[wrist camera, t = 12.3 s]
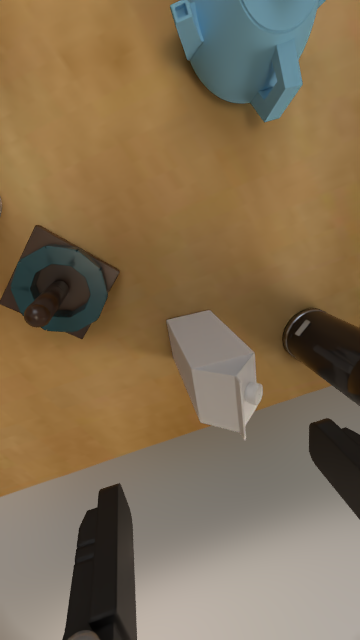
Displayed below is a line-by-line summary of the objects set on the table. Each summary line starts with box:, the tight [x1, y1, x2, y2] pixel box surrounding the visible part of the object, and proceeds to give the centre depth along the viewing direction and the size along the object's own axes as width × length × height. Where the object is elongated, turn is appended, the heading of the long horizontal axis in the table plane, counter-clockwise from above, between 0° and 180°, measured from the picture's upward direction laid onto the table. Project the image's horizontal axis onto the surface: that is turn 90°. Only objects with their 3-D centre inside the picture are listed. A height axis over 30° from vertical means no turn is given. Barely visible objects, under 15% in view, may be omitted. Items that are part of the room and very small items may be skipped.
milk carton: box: [166, 310, 263, 440], centre depth 34 cm, size 7×7×19 cm
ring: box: [10, 244, 108, 332], centre depth 33 cm, size 11×11×3 cm
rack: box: [0, 225, 120, 339], centre depth 29 cm, size 11×11×14 cm
